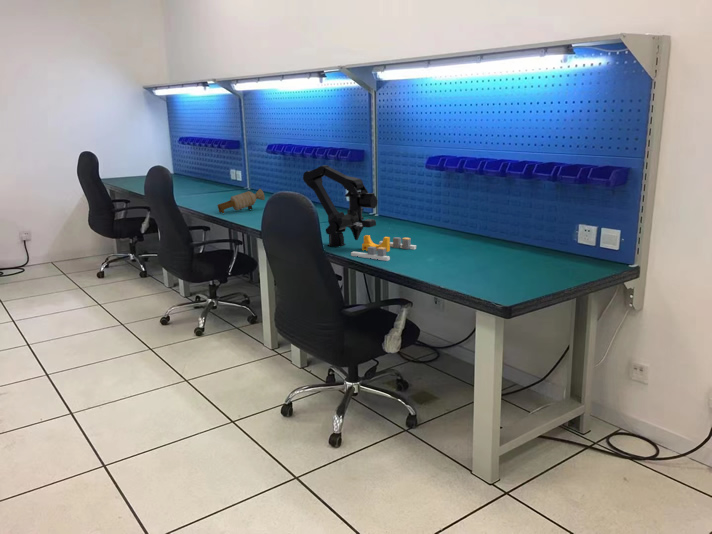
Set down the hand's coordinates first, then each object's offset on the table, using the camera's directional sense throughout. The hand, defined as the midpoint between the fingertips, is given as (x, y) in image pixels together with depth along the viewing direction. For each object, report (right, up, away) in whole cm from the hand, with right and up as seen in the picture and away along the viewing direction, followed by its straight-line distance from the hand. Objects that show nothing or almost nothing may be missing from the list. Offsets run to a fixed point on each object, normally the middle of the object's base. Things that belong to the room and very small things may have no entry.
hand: (356, 240), depth 271 cm
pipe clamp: (+9, -5, -4) cm, 11 cm away
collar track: (+13, -6, -7) cm, 16 cm away
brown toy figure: (-74, +24, +110) cm, 135 cm away
